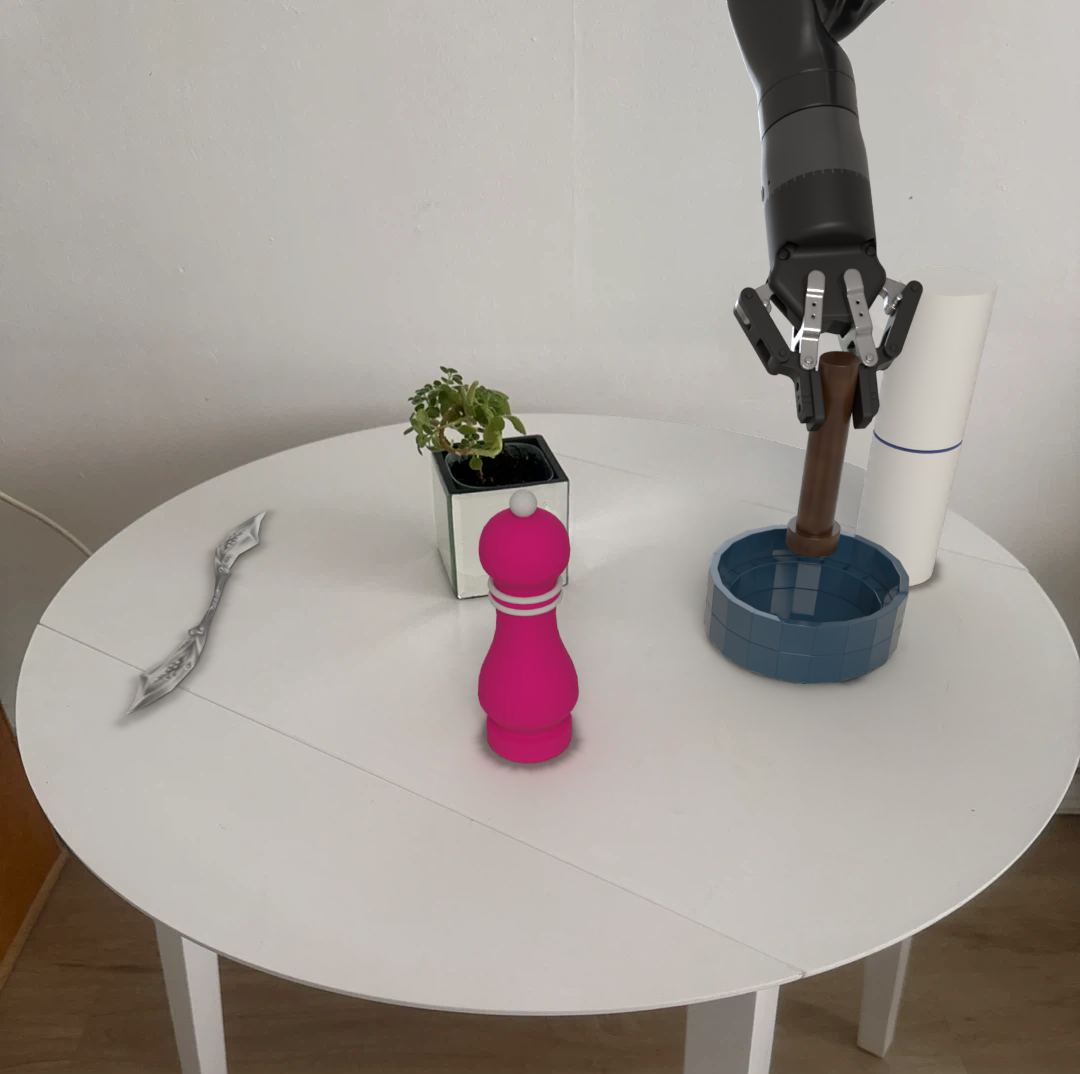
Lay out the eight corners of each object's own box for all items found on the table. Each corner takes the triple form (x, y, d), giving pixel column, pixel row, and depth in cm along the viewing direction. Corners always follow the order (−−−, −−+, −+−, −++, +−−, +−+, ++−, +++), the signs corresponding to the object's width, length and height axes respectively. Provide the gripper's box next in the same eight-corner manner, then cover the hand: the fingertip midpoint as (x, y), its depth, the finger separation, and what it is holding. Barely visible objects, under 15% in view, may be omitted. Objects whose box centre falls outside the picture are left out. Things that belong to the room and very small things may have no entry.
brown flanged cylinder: (839, 534, 91) (870, 350, 82) (836, 560, 88) (868, 371, 79) (787, 528, 92) (813, 345, 82) (782, 553, 89) (808, 366, 79)
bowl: (897, 597, 99) (910, 536, 95) (892, 704, 88) (907, 639, 84) (718, 575, 102) (724, 515, 99) (690, 675, 91) (696, 611, 87)
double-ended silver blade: (120, 717, 88) (184, 718, 87) (118, 711, 87) (183, 711, 87) (223, 513, 113) (273, 513, 112) (222, 507, 112) (272, 507, 112)
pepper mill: (530, 694, 89) (524, 454, 77) (598, 736, 85) (604, 490, 73) (460, 737, 85) (441, 491, 73) (528, 782, 81) (521, 531, 69)
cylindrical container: (852, 583, 101) (903, 294, 85) (848, 542, 107) (896, 263, 91) (936, 589, 100) (1004, 298, 84) (928, 548, 106) (991, 267, 90)
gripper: (731, 168, 79) (754, 411, 77) (931, 160, 80) (959, 401, 78) (709, 226, 87) (730, 450, 85) (892, 219, 87) (917, 440, 86)
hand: (840, 425), depth 81 cm, fingers closed on brown flanged cylinder, 3 cm apart
